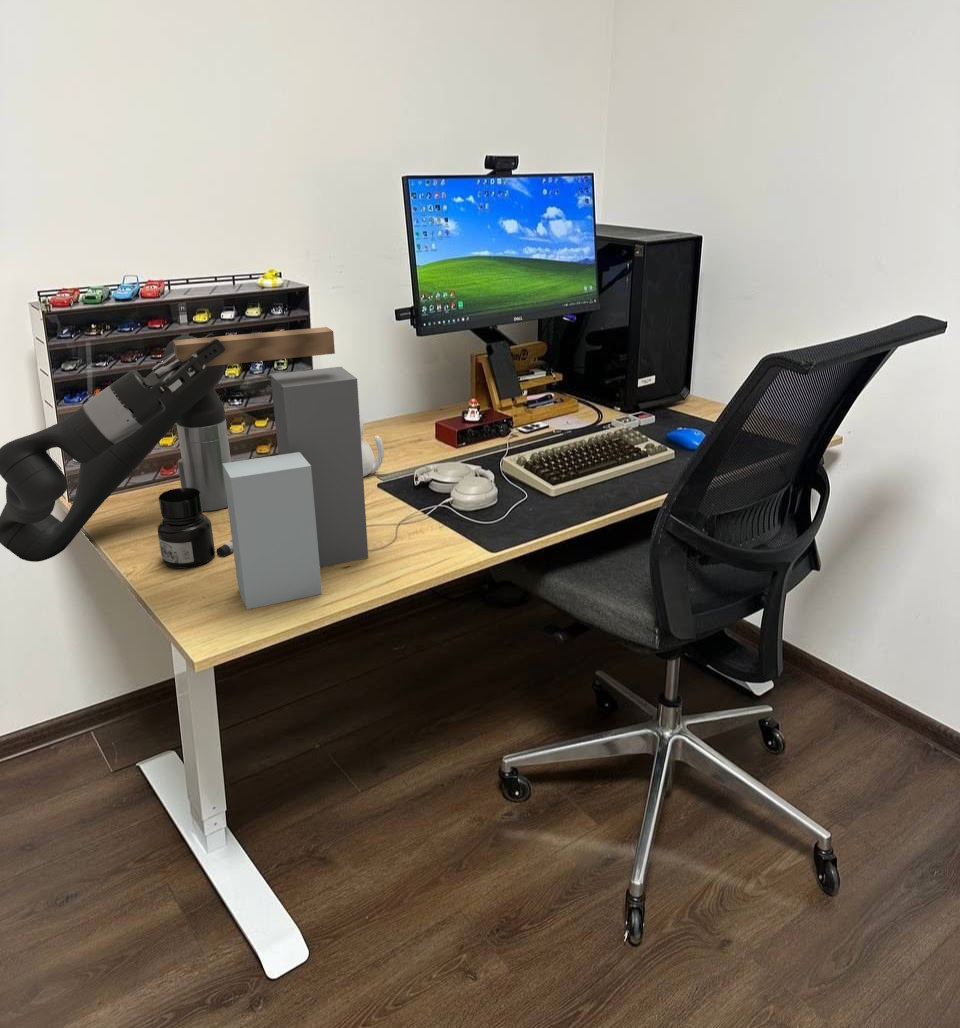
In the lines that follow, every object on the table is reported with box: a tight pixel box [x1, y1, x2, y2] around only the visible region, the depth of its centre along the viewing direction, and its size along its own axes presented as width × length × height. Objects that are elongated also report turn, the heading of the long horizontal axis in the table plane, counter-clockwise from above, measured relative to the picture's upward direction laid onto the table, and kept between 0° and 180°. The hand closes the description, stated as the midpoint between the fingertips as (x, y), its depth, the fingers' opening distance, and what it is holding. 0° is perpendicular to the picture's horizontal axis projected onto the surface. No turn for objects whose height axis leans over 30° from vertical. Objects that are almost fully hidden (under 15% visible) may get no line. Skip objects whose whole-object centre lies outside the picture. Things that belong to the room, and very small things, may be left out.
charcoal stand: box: [270, 366, 369, 568], centre depth 151 cm, size 12×9×32 cm
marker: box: [215, 539, 234, 558], centre depth 162 cm, size 15×2×2 cm, turn 155°
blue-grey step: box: [222, 452, 323, 610], centre depth 140 cm, size 12×7×22 cm, turn 115°
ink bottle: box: [157, 487, 216, 569], centre depth 153 cm, size 10×9×12 cm
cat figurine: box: [359, 414, 385, 478], centre depth 191 cm, size 9×12×15 cm
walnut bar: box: [172, 326, 336, 368], centre depth 138 cm, size 24×4×4 cm, turn 115°
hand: (218, 341), depth 136 cm, fingers closed on walnut bar, 3 cm apart
